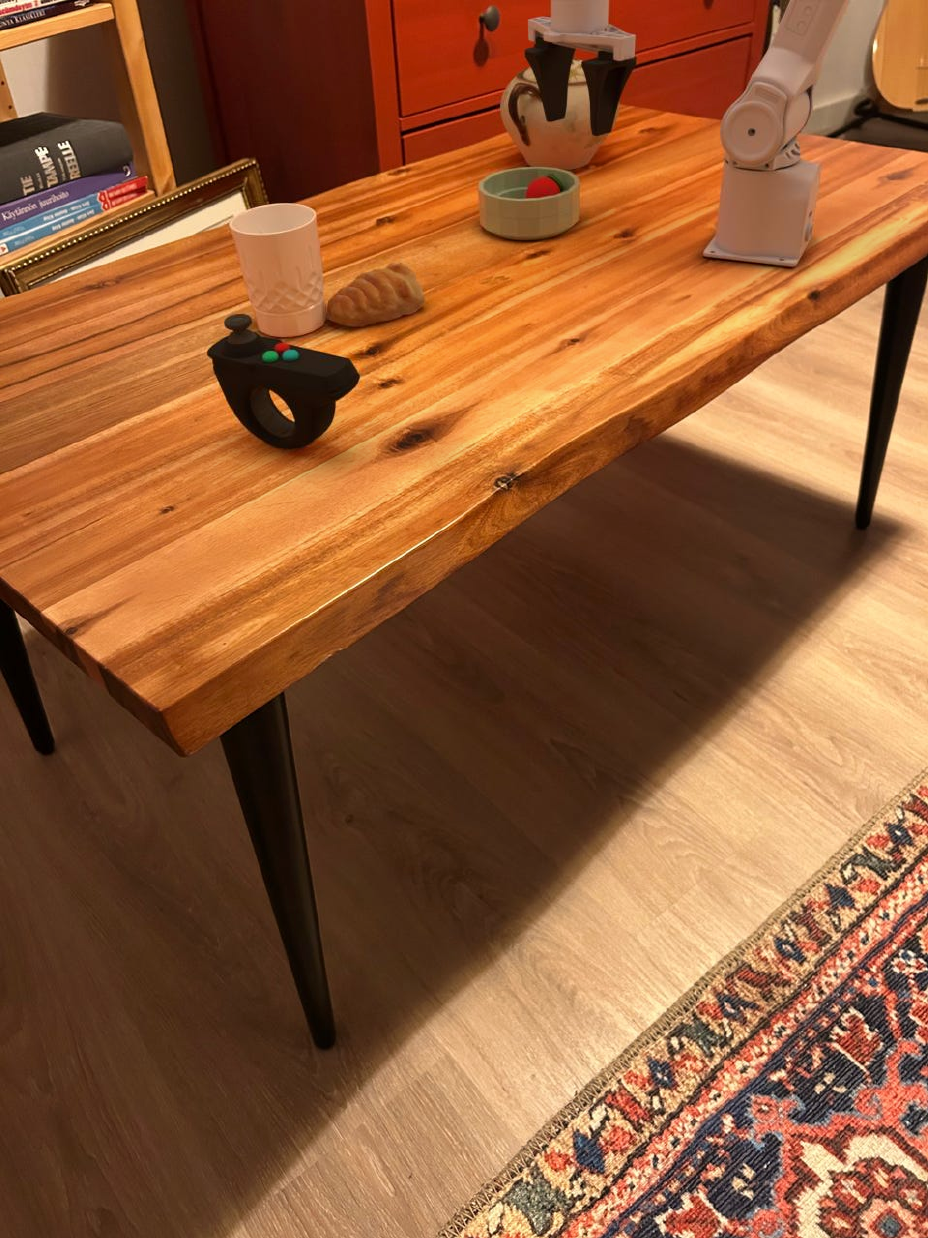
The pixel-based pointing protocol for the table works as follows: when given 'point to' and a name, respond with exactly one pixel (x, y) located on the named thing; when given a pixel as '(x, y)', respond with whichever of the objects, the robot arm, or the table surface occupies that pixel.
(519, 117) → the cream ceramic round pot
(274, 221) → the white cup
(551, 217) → the bowl
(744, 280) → the table surface
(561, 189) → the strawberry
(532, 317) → the table surface
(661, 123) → the table surface
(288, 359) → the controller
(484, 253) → the table surface
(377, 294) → the pastry
